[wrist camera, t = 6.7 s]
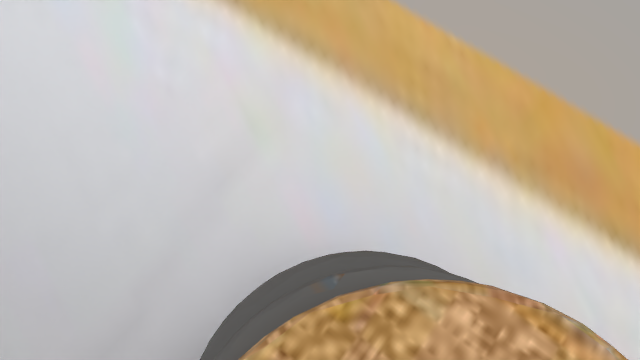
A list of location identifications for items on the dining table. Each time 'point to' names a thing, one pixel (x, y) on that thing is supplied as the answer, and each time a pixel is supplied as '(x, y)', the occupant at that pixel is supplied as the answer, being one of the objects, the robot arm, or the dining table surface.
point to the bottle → (395, 317)
